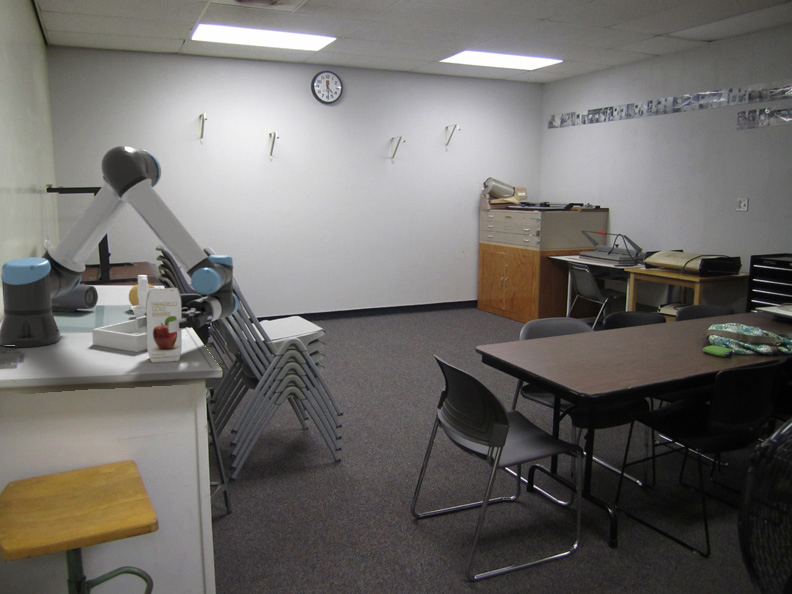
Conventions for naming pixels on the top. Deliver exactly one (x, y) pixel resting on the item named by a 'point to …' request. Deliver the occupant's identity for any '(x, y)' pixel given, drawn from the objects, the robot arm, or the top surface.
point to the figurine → (141, 296)
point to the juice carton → (163, 324)
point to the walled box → (121, 336)
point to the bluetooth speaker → (76, 299)
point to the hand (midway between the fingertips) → (153, 325)
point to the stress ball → (135, 295)
